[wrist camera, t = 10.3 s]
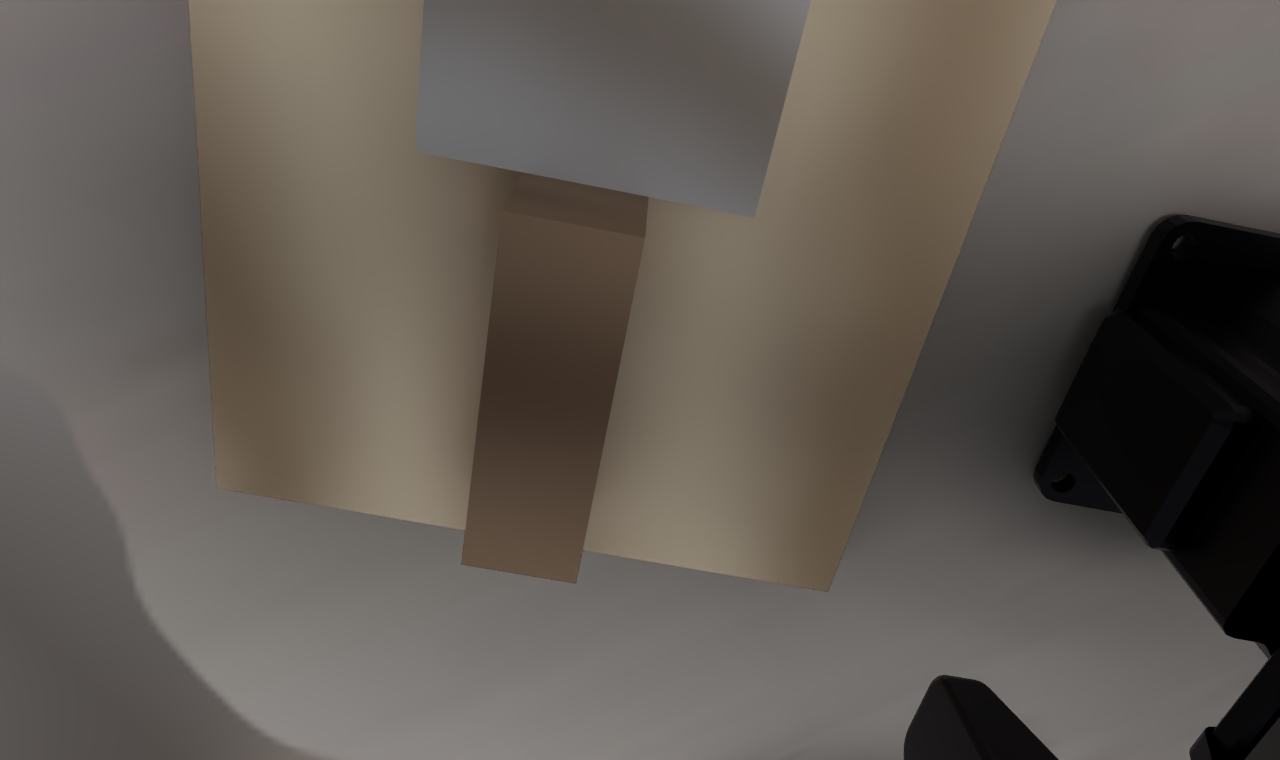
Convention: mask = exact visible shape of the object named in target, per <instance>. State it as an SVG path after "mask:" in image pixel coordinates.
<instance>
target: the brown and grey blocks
mask: <svg viewBox="0 0 1280 760" xmlns="http://www.w3.org/2000/svg"><path fill="white" fill-rule="evenodd" d="M810 3H811V0H424V7H423V23H422V39H421V55H420V71H419V87H418V103H417V119H416V136H415V151H416V152H421V153H426V154H431V155H436V156H442V157H447V158H452V159H457V160H462V161H467V162H472V163H478V164H483V165H488V166H493V167H498V168H503V169H508V170H513V171H519V172H524V173H523V175H522V177H521V178H520V180H519V182H518V184H517V185H516V187H515V189H514V190H513V192H512V194H511V196H510V197H509V199H508V201H507V202H506V204H505V206H504V208H503V209H502V213H501V222H500V230H499V239H498V248H497V257H496V265H495V274H494V283H493V292H492V300H491V309H490V318H489V327H488V335H487V344H486V353H485V362H484V370H483V379H482V388H481V397H480V405H479V414H478V423H477V431H476V440H475V449H474V458H473V466H472V475H471V484H470V493H469V501H468V510H467V519H466V528H465V536H464V545H463V554H462V563H461V565H467V566H473V567H479V568H485V569H491V570H497V571H503V572H509V573H515V574H521V575H527V576H533V577H539V578H545V579H551V580H557V581H563V582H569V583H575V584H576V582H577V577H578V572H579V567H580V562H581V557H582V552H583V547H584V542H585V537H586V532H587V527H588V522H589V517H590V512H591V507H592V502H593V497H594V492H595V487H596V482H597V477H598V472H599V467H600V462H601V457H602V452H603V447H604V442H605V437H606V432H607V427H608V422H609V417H610V412H611V407H612V402H613V397H614V392H615V387H616V382H617V377H618V372H619V367H620V362H621V357H622V352H623V347H624V341H625V336H626V331H627V326H628V321H629V316H630V311H631V306H632V301H633V296H634V291H635V286H636V281H637V276H638V271H639V266H640V261H641V256H642V251H643V246H644V241H645V234H646V222H647V210H648V199H649V197H652V198H657V199H662V200H668V201H673V202H678V203H683V204H688V205H693V206H698V207H704V208H709V209H714V210H719V211H724V212H729V213H734V214H740V215H745V216H750V217H755V214H756V210H757V206H758V202H759V199H760V195H761V191H762V187H763V183H764V179H765V176H766V172H767V168H768V164H769V160H770V156H771V152H772V149H773V145H774V141H775V137H776V133H777V129H778V126H779V122H780V118H781V114H782V110H783V106H784V103H785V99H786V95H787V91H788V87H789V83H790V80H791V76H792V72H793V68H794V64H795V60H796V56H797V53H798V49H799V45H800V41H801V37H802V33H803V30H804V26H805V22H806V18H807V14H808V10H809V7H810Z"/></svg>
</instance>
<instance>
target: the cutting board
mask: <svg viewBox="0 0 1280 760" xmlns="http://www.w3.org/2000/svg"><path fill="white" fill-rule="evenodd" d="M1056 2H1057V0H811V3H810V7H809V10H808V14H807V18H806V22H805V26H804V30H803V33H802V37H801V41H800V45H799V49H798V53H797V56H796V60H795V64H794V68H793V72H792V76H791V80H790V83H789V87H788V91H787V95H786V99H785V103H784V106H783V110H782V114H781V118H780V122H779V126H778V129H777V133H776V137H775V141H774V145H773V149H772V152H771V156H770V160H769V164H768V168H767V172H766V176H765V179H764V183H763V187H762V191H761V195H760V199H759V202H758V206H757V210H756V214H755V217H750V216H745V215H740V214H734V213H729V212H724V211H719V210H714V209H709V208H704V207H698V206H693V205H688V204H683V203H678V202H673V201H668V200H662V199H657V198H652V197H649V199H648V210H647V222H646V234H645V241H644V246H643V251H642V256H641V261H640V266H639V271H638V276H637V281H636V286H635V291H634V296H633V301H632V306H631V311H630V316H629V321H628V326H627V331H626V336H625V341H624V347H623V352H622V357H621V362H620V367H619V372H618V377H617V382H616V387H615V392H614V397H613V402H612V407H611V412H610V417H609V422H608V427H607V432H606V437H605V442H604V447H603V452H602V457H601V462H600V467H599V472H598V477H597V482H596V487H595V492H594V497H593V502H592V507H591V512H590V517H589V522H588V527H587V532H586V537H585V542H584V547H583V551H589V552H595V553H601V554H607V555H613V556H619V557H625V558H630V559H636V560H642V561H648V562H654V563H660V564H666V565H672V566H678V567H683V568H689V569H695V570H701V571H707V572H713V573H719V574H725V575H731V576H736V577H742V578H748V579H754V580H760V581H766V582H772V583H778V584H784V585H789V586H795V587H801V588H807V589H813V590H819V591H825V592H828V591H829V588H830V586H831V583H832V581H833V578H834V575H835V573H836V570H837V568H838V565H839V563H840V560H841V557H842V555H843V552H844V550H845V547H846V544H847V542H848V539H849V537H850V534H851V532H852V529H853V526H854V524H855V521H856V519H857V516H858V513H859V511H860V508H861V506H862V503H863V501H864V498H865V495H866V493H867V490H868V488H869V485H870V482H871V480H872V477H873V475H874V472H875V470H876V467H877V464H878V462H879V459H880V457H881V454H882V451H883V449H884V446H885V444H886V441H887V439H888V436H889V433H890V431H891V428H892V426H893V423H894V420H895V418H896V415H897V413H898V410H899V408H900V405H901V402H902V400H903V397H904V395H905V392H906V389H907V387H908V384H909V382H910V379H911V377H912V374H913V371H914V369H915V366H916V364H917V361H918V358H919V356H920V353H921V351H922V348H923V346H924V343H925V340H926V338H927V335H928V333H929V330H930V327H931V325H932V322H933V320H934V317H935V315H936V312H937V309H938V307H939V304H940V302H941V299H942V296H943V294H944V291H945V289H946V286H947V284H948V281H949V278H950V276H951V273H952V271H953V268H954V265H955V263H956V260H957V258H958V255H959V252H960V250H961V247H962V245H963V242H964V240H965V237H966V234H967V232H968V229H969V227H970V224H971V221H972V219H973V216H974V214H975V211H976V209H977V206H978V203H979V201H980V198H981V196H982V193H983V190H984V188H985V185H986V183H987V180H988V178H989V175H990V172H991V170H992V167H993V165H994V162H995V159H996V157H997V154H998V152H999V149H1000V147H1001V144H1002V141H1003V139H1004V136H1005V134H1006V131H1007V128H1008V126H1009V123H1010V121H1011V118H1012V116H1013V113H1014V110H1015V108H1016V105H1017V103H1018V100H1019V97H1020V95H1021V92H1022V90H1023V87H1024V85H1025V82H1026V79H1027V77H1028V74H1029V72H1030V69H1031V66H1032V64H1033V61H1034V59H1035V56H1036V54H1037V51H1038V48H1039V46H1040V43H1041V41H1042V38H1043V35H1044V33H1045V30H1046V28H1047V25H1048V23H1049V20H1050V17H1051V15H1052V12H1053V10H1054V7H1055V4H1056ZM423 7H424V0H189V14H190V32H191V49H192V67H193V84H194V102H195V119H196V137H197V154H198V172H199V189H200V207H201V224H202V242H203V259H204V276H205V294H206V311H207V329H208V346H209V364H210V381H211V399H212V416H213V434H214V451H215V469H216V486H217V488H218V489H224V490H230V491H236V492H242V493H248V494H253V495H259V496H265V497H271V498H277V499H283V500H289V501H295V502H301V503H306V504H312V505H318V506H324V507H330V508H336V509H342V510H348V511H354V512H359V513H365V514H371V515H377V516H383V517H389V518H395V519H401V520H407V521H412V522H418V523H424V524H430V525H436V526H442V527H448V528H454V529H460V530H465V528H466V519H467V510H468V501H469V493H470V484H471V475H472V466H473V458H474V449H475V440H476V431H477V423H478V414H479V405H480V397H481V388H482V379H483V370H484V362H485V353H486V344H487V335H488V327H489V318H490V309H491V300H492V292H493V283H494V274H495V265H496V257H497V248H498V239H499V230H500V222H501V213H502V209H503V208H504V206H505V204H506V202H507V201H508V199H509V197H510V196H511V194H512V192H513V190H514V189H515V187H516V185H517V184H518V182H519V180H520V178H521V177H522V175H523V173H524V172H519V171H513V170H508V169H503V168H498V167H493V166H488V165H483V164H478V163H472V162H467V161H462V160H457V159H452V158H447V157H442V156H436V155H431V154H426V153H421V152H416V151H415V136H416V119H417V103H418V87H419V71H420V55H421V39H422V23H423Z"/></svg>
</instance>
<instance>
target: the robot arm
mask: <svg viewBox="0 0 1280 760" xmlns="http://www.w3.org/2000/svg"><path fill="white" fill-rule="evenodd" d="M1185 234H1189V240H1188V243H1187V244H1186V245H1185V247H1184V248H1183V249H1181V250H1179V251H1177V252H1171V251H1172V246H1173V244H1174V243H1175V241H1176V240H1177V239H1178V238H1180V237H1181V236H1183V235H1185ZM1055 421H1056V424H1057V425H1056V427H1055V429H1054V431H1053V433H1052V435H1051V437H1050V439H1049V441H1048V443H1047V445H1046V447H1045V449H1044V451H1043V453H1042V456H1041V458H1040V460H1039V462H1038V464H1037V466H1036V468H1035V471H1034V475H1033V477H1034V481H1035V484H1036V485H1037V487H1038V488H1039V490H1040V492H1041V493H1042V494H1043V495H1044V496H1045V497H1046V498H1047V499H1049V500H1052V501H1055V502H1061V503H1066V504H1072V505H1078V506H1083V507H1089V508H1094V509H1100V510H1105V511H1111V512H1117V513H1122V514H1123V515H1124V516H1125V517H1126V519H1127V520H1128V521H1129V522H1130V524H1131V525H1132V526H1133V528H1134V529H1135V530H1136V532H1137V533H1138V534H1139V536H1140V537H1141V538H1142V540H1143V541H1144V542H1145V544H1146V545H1148V546H1149V547H1151V548H1153V549H1159V550H1161V551H1162V552H1163V554H1164V555H1165V556H1166V558H1167V559H1168V560H1169V562H1170V563H1171V564H1172V565H1173V567H1174V568H1175V569H1176V571H1177V572H1178V573H1179V574H1180V576H1181V577H1182V578H1183V580H1184V581H1185V582H1186V583H1187V585H1188V586H1189V587H1190V589H1191V590H1192V591H1193V592H1194V594H1195V595H1196V596H1197V598H1198V599H1199V600H1200V602H1201V603H1202V604H1203V605H1204V607H1205V608H1206V609H1207V611H1208V612H1209V613H1210V614H1211V616H1212V617H1213V618H1214V620H1215V621H1216V622H1217V623H1218V625H1219V626H1220V627H1221V629H1222V630H1223V631H1224V633H1225V634H1226V635H1228V636H1230V637H1233V638H1237V639H1243V640H1248V641H1254V642H1255V643H1256V644H1257V645H1258V647H1259V648H1260V649H1261V650H1262V652H1263V653H1264V654H1265V655H1266V657H1267V658H1268V659H1269V660H1268V661H1267V662H1266V663H1265V665H1264V666H1263V667H1262V669H1261V670H1260V671H1259V672H1258V674H1257V675H1256V676H1255V678H1254V679H1253V680H1252V681H1251V683H1250V684H1249V685H1248V687H1247V688H1246V689H1245V690H1244V692H1243V693H1242V694H1241V696H1240V697H1239V698H1238V699H1237V701H1236V702H1235V703H1234V705H1233V706H1232V707H1231V708H1230V710H1229V711H1228V712H1227V713H1226V715H1225V716H1224V717H1223V719H1222V720H1221V721H1220V722H1219V724H1218V725H1217V726H1216V727H1207V728H1206V729H1205V730H1204V731H1203V733H1202V734H1201V735H1200V737H1199V738H1198V739H1197V740H1196V742H1195V743H1194V744H1193V746H1192V747H1191V748H1190V758H1191V760H1280V234H1278V233H1273V232H1268V231H1263V230H1258V229H1253V228H1248V227H1243V226H1238V225H1233V224H1228V223H1223V222H1218V221H1214V220H1209V219H1204V218H1199V217H1194V216H1189V215H1177V216H1174V217H1171V218H1168V219H1166V220H1164V221H1163V222H1162V223H1160V224H1159V225H1158V226H1157V227H1156V228H1155V229H1154V231H1153V232H1152V234H1151V235H1150V237H1149V239H1148V241H1147V243H1146V245H1145V247H1144V249H1143V251H1142V253H1141V255H1140V257H1139V259H1138V261H1137V263H1136V265H1135V267H1134V269H1133V271H1132V273H1131V275H1130V277H1129V279H1128V281H1127V283H1126V286H1125V288H1124V290H1123V292H1122V294H1121V296H1120V298H1119V300H1118V302H1117V304H1116V306H1115V308H1114V310H1113V312H1112V313H1111V314H1110V315H1108V316H1107V317H1106V318H1105V319H1104V320H1103V322H1102V324H1101V326H1100V328H1099V330H1098V332H1097V334H1096V336H1095V338H1094V340H1093V342H1092V344H1091V346H1090V348H1089V350H1088V352H1087V354H1086V356H1085V358H1084V360H1083V362H1082V364H1081V366H1080V368H1079V371H1078V373H1077V375H1076V377H1075V379H1074V381H1073V383H1072V385H1071V387H1070V389H1069V391H1068V393H1067V395H1066V397H1065V399H1064V401H1063V403H1062V405H1061V407H1060V409H1059V411H1058V413H1057V415H1056V418H1055ZM1066 473H1068V475H1067V476H1066V477H1065V478H1064V479H1063V480H1061V481H1059V482H1052V481H1053V480H1054V479H1055V477H1056V476H1058V475H1060V474H1066ZM904 760H1059V759H1058V758H1057V757H1056V756H1055V755H1054V754H1053V753H1052V752H1051V751H1050V750H1049V749H1048V748H1047V747H1046V746H1045V745H1044V744H1043V743H1042V742H1041V741H1040V740H1039V739H1038V738H1037V737H1036V736H1035V735H1034V734H1033V733H1032V732H1031V731H1030V730H1029V729H1028V727H1027V726H1026V725H1025V724H1024V723H1023V722H1022V721H1021V720H1020V719H1019V718H1018V717H1017V716H1016V715H1015V714H1014V713H1013V712H1012V711H1011V710H1010V709H1009V708H1008V707H1007V706H1006V705H1005V704H1004V703H1003V702H1002V701H1001V700H1000V699H999V698H998V697H997V695H996V694H995V693H994V692H993V691H992V690H991V689H990V688H989V687H987V686H986V685H985V684H984V683H982V682H980V681H977V680H973V679H967V678H961V677H955V676H948V675H941V676H938V677H937V678H935V679H934V680H933V681H932V683H931V684H930V686H929V688H928V690H927V692H926V694H925V696H924V698H923V700H922V702H921V704H920V706H919V708H918V710H917V712H916V714H915V716H914V718H913V720H912V722H911V724H910V726H909V728H908V731H907V733H906V737H905V742H904Z"/></svg>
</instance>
